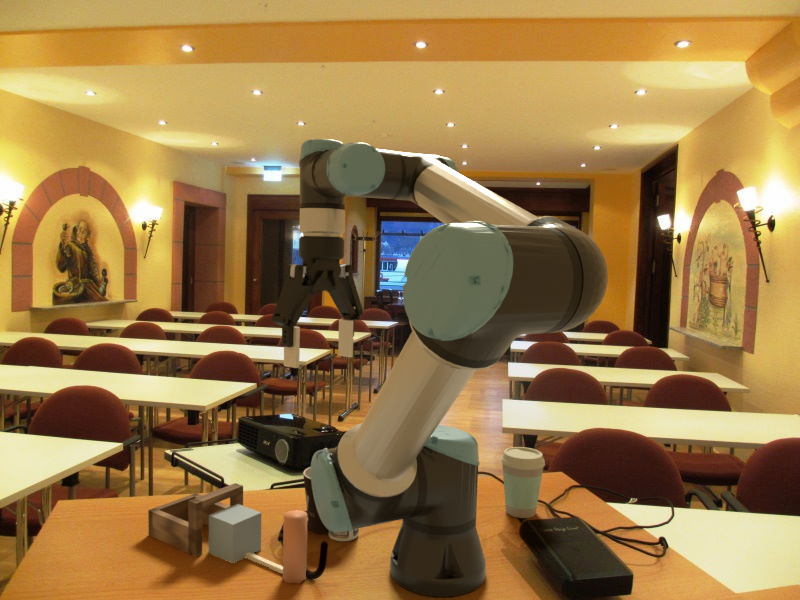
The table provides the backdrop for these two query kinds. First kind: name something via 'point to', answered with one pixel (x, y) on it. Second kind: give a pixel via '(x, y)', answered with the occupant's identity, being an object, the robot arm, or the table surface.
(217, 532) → the lopsided dumbbell
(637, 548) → the table surface
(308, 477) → the coffee mug
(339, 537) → the pill bottle
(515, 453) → the coffee cup
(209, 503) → the wooden frame
